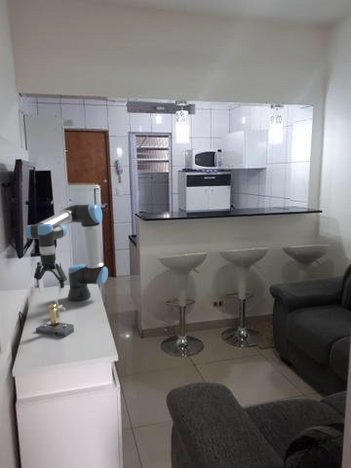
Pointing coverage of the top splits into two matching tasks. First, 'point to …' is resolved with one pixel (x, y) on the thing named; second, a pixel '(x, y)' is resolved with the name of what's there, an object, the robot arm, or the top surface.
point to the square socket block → (56, 329)
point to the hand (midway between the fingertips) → (51, 292)
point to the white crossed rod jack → (58, 308)
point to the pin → (53, 314)
